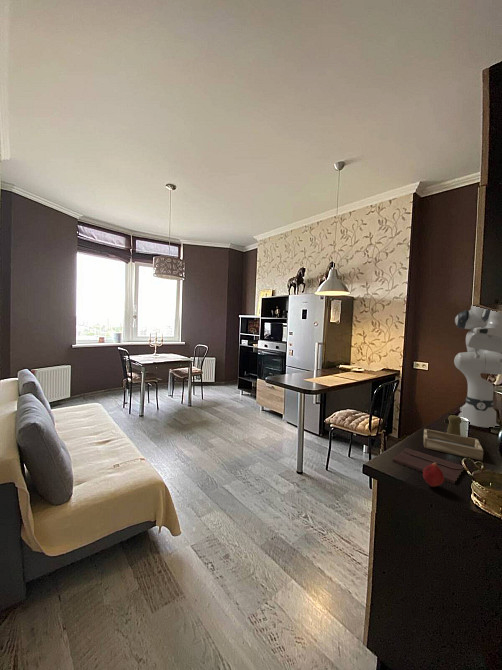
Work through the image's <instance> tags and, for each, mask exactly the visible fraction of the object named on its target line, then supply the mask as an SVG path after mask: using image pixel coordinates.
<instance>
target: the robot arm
mask: <svg viewBox="0 0 502 670" xmlns="http://www.w3.org/2000/svg"><path fill="white" fill-rule="evenodd" d="M454 323H455V326H456V327H457V328H458V329H460V330H461V329H462V330H464V329H466V330H468V332H467V333H466V335H465V346H466V351H465V352H463V351H462V352H458V353H457V354H456V355H455V357H454V360H453V363H454V366H455V368H456V369H458V371H460V372H461V373H462V374H463V376H464V377H465V378H466V382H467V383H466V384H467V392H466V393H467V394H466V396H465V404H463V405H462V406H460V407H459V412H460V413H459V414H458V415H457V416H460V417H464V418H467V419H468V420H469V422H470V424H469V425H471V426H475V427H480V428H488V429H489V427H493V428H496V427H495V426H501V425H500V424H498V423H497V411H496V410H495V409H494V404H495V403H494V399H493V398H494V389H495V388H494V384H493V383H492V382H491V381H488V380H487V379H485V378H483V377H482V376H481V374H489V375H502V313H500V312H496V311H492V310H488V309H484V308H480V307H476V306H473V305H472V304H471V306H470V309H469V310H467V309H464V311H460V312H459V313H457V315H456V316H455V318H454Z"/></svg>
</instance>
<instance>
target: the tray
mask: <svg viewBox="0 0 502 670" xmlns="http://www.w3.org/2000/svg"><path fill="white" fill-rule="evenodd" d="M423 448H425V449H429V450H433V451H438V452H440V453H441V452H443V453H446V454H450V455H456V456H460V457H463V458H468V457H469V459H474V460H478V461H483V460H484V449H483V447H482V445H481V443H480V441H479V439H478V438H474V437H469V436H463V435H461V436H459V435H454V434H449V433H447V432H445V431H443V432H442V431H439V430H432V429H429V428H423Z"/></svg>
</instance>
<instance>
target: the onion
mask: <svg viewBox="0 0 502 670" xmlns="http://www.w3.org/2000/svg"><path fill="white" fill-rule="evenodd" d="M422 478H423V480H424V481H425V483H427V484H428V485H429V486H430V487H432V488H436V487H437V486H438V487H439V486H440V485H442V484H443V483H444V482H445V481H444V475H443V472H442V471H441V470H440V468H438V467H437V464H436V463H433V464H431V465H428V466H426V467H425V468H424V470H423V473H422Z"/></svg>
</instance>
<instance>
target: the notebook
mask: <svg viewBox="0 0 502 670" xmlns="http://www.w3.org/2000/svg"><path fill="white" fill-rule="evenodd" d="M392 463H395V464H397V463H398V465H400V464H402V465H401V466H403V465H405V466H404V467H406V466H407V467H406V468H408V467H410V468H409V469H411V468H413V469H412V470H414V469H416V470H415V471H417V470H418V471H417V472H419V471H421V472H420V473H422V472H423V470H424V468H425V467H426V466H428V465H431V464H433V463H436V464H437V467H438V468H440V470H441V471H442V472H443V475H444V481H443V482H448V483H449V482H450V483H449V484H453V485H455V483H456V482H457V480H458V479H459V477H460V476H461V474H462V473H461V472H463V471H464V470H465V466H464V465H462V464H459V463H455V462H452V461H448V460H446V459H443V458H439V457H436V456H434V455H430V454H428V453H427V454H426V453H424V452H421V451H418V450H415V449H412V448H408V447H405V448H404V449H403V450H402V451H401V452H400V453H398V454H397V455H396V456H395V457H393V459H392ZM463 466H464V467H463ZM459 475H460V476H459ZM457 478H458V479H457ZM455 481H456V482H455Z"/></svg>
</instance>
